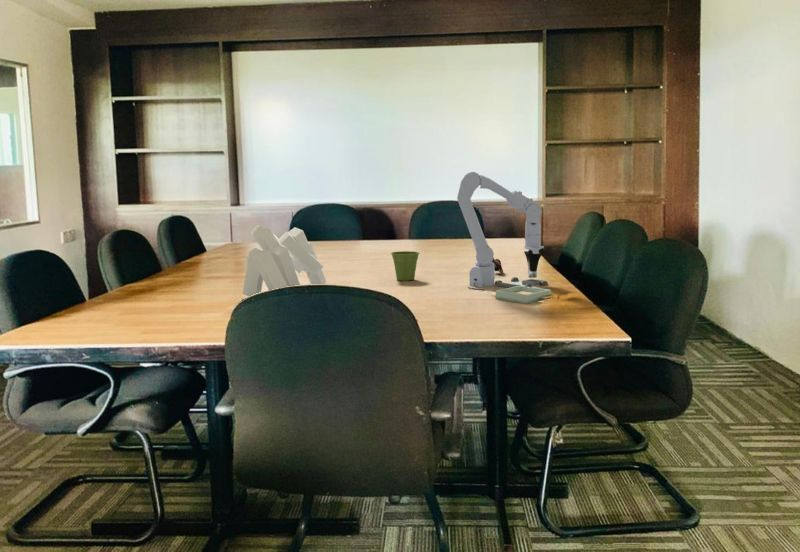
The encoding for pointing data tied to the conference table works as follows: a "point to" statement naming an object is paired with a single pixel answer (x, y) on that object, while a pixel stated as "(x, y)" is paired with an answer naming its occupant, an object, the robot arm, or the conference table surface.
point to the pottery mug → (498, 266)
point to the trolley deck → (522, 283)
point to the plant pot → (405, 264)
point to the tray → (522, 298)
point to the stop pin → (531, 274)
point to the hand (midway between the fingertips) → (532, 270)
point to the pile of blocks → (280, 261)
